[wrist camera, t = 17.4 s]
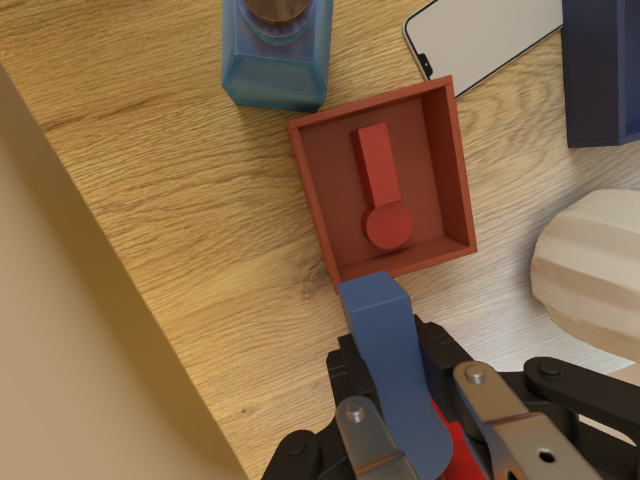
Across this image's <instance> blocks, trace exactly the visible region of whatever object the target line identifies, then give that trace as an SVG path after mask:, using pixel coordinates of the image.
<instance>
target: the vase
mask: <svg viewBox="0 0 640 480" xmlns="http://www.w3.org/2000/svg"><path fill="white" fill-rule="evenodd" d="M530 264H531V267H530V271H531V283H532V293H533V295H534V297H535V298H537V299H538V300H539V301H541V302H542V303H543V304H544V305H545V307H546V309H547V311H548V313H549V315H550V318H551V320H552V321H553V322H554V323H555V324H556V325H557V326H558V327H560V328H561V329H562V330H563V331H565V332H567V333H568V334H570V335H572V336H573V337H575V338H577V339H579V340H581V341H583V342H585V343H587V344H590V345H592V346H594V347H596V348H599V349H601V350H604V351H606V352H609V353H612V354H614V355H617V356H619V357H622V358H625V359H628V360H632V361H635V362H638V363H640V188H637V189H630V190H624V189H611V188H609V189H598V190H594V191H593V192H591V193H589V194H588V195H586V196H584V197H583V198H581V199H580V200H578V201H576V202H575V203H573V204H572V205H570V206H569V207H567V208H566V209H565V210H563V211H562V212H560V213H558V214H557V215H556V216H555V217H554V219H553V220H552V221H551V222H550V223H549V224H548V225H547V226H546V227H545V228H544V230H543V231H542V232H541V233H540V235H539V237H538V239H537V242H536V246H535V251H534V255H533V257H532V260H531V263H530Z"/></svg>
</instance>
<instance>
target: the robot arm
mask: <svg viewBox="0 0 640 480" xmlns="http://www.w3.org/2000/svg"><path fill="white" fill-rule="evenodd" d="M413 316H414V321H415V326H416V331H417V335H418V340H419V342H418V343H419V348H420V353H421V358H422V363H423V368H424V373H425V377H426V382H427V387H428V392H429V394H430V395H431V397H432V398H433V400H434V401H435V403H436V405H437V406H438V408H439V409H440V411H441V412H442V414H443V416H444V417H445V419H446V420H447V422H448V423H449V424H450V423H453V422H456V421H458V422H459V424H460V425H461V427H462V431H463V436H464V440H465V442H466V444H467V446H468V448H469V449H470V451H471V453H472V455H473V457H474V459H475V461H476V463H477V465H478V466H479V468H480V470H481V472H482V474H483V476H484V478H485V480H640V387H639V386H636V385H633V384H630V383H627V382H624V381H621V380H618V379H615V378H612V377H609V376H606V375H603V374H600V373H597V372H594V371H591V370H589V369H586V368H583V367H580V366H577V365H574V364H571V363H568V362H565V361H562V360H559V359H556V358H551V357H534V358H531V359H529V360H527V361H526V362H525V364H524V366H523V367H524V371H521V372H497V371H496V370H495V369H494V368H493V367H491V366H490V365H488V364H486V363H484V362H480V361H475V360H474V359H473V358H472V357H471V356H470V355H469V354H468V353H467V352H466V351H465V350H464V349H463V348H462V347H461V346H460V345H459V344H458V343H457V342H456V341H454V339H453V338H452V337H451V336H450V335H449V334H448V332H447V331H446V330H445V329H444V328H443V327H442V326H440V325H437V324H435V323H433V322H429V323H425V324H424V323H423V322H422V320H421V319H420V318H419V317H418V316H417V315H416V314H414V315H413ZM337 338H338V342H339V346H340V349H338V350H335V351H332V352H329V354H328V357H327V360H326V364H327V368H328V373H329V377H330V382H331V386H332V391H333V395H334V400H335V404H336V412H335V416H334V418H333V420H332V421H331V423H330V424H329V425H328V426H327V427H326V428H324V429H323V430H322V431H320V432H318V433H317V434H314V433H313V432H311V431H309V430H297V431H294V432H292V433H290V434H288V435H287V436H286V437H285V438H284V439H283V440H282V441H281V442H280V444H279V445H278V447H277V449H276V451H275V453H274V455H273V457H272V459H271V461H270V463H269V465H268V467H267V469H266V471H265V473H264V475H263V477H262V479H261V480H420V479H419V477H418V475H417V474H416V472H415V470H414V468H413V466H412V464H411V463H410V461H409V459H408V457H407V455H406V454H405V452H404V451H403V450H400V451H399V449H398V448H397V446H396V444H395V442H394V440H393V438H392V436H391V434H390V433H389V431H388V429H387V427H386V425H385V421H384V417H383V413H382V409H381V405H380V401H379V397H378V393H377V389H376V386H375V384H374V382H373V379H372V377H371V374H370V372H369V370H368V367H367V365H366V362H365V360H364V359H361V357H360V355H359V352H358V350H357V347H356V345H355V342H354V340H353V337H352V335H351V333H350V334H347V335H343V336H340V337H337ZM579 414H581V415H583V416H585V417H587V418H590V419H592V420H594V421H597V422H599V423H601V424H603V425H606V426H608V427H610V428H613V429H615V430H617V431H619V432H621V433H623V434H625V435H626V436H628V437H629V438H630V439H631V440H632V441H633V442H634V443H635V444H636V446H637V447H636V446H633V445H631V444H629V443H627V442H625V441H622V440H620V439H618V438H616V437H614V436H611V435H609V434H607V433H605V432H603V431H600V430H598V429H596V428H594V427H592V426H589V425H587V424H585V423H583V422H581V421H579Z"/></svg>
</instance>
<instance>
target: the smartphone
mask: <svg viewBox="0 0 640 480" xmlns="http://www.w3.org/2000/svg"><path fill="white" fill-rule="evenodd" d="M562 27H563V14H562V0H432V1H430V2H429V3H427V4H426V5H425V6H423V7H422V8H420V9H419V10H417V11H416V12H414V13H413V14H412V15H410V16H409V17H408V18H407V19H406V20H405V21H404V23H403V26H402V34H403V37H404V39H405V41H406V43H407V45H408V47H409V49H410V51H411V53H412V55H413V57H414V60H415V62H416V64H417V66H418V68H419V70H420V72H421V74H422V76H423V78H424V80H425V82H426V81H429V80H433V79H437V78H440V77H444V76H447V75H452V79H453V83H452V84H453V86H454V93H455V100H456V99H458V98H459V97H461V96H462V95H464V94H466V93H467V92H468V91H470V90H471V89H473V88H474V87H476V86H477V85H479V84H480V83H482V82H483V81H485V80H486V79H488V78H489V77H491V76H492V75H494V74H495V73H496V72H498V71H499V70H501V69H502V68H503V67H505V66H506V65H508V64H509V63H511V62H512V61H514V60H515V59H517V58H518V57H520V56H521V55H523V54H524V53H526V52H527V51H529V50H530V49H531V48H533V47H534V46H536V45H537V44H539V43H540V42H542V41H543V40H545V39H546V38H548V37H549V36H551V35H552V34H554V33H555V32H557V31H558V30H559V29H561V28H562Z"/></svg>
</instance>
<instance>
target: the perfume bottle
mask: <svg viewBox="0 0 640 480" xmlns="http://www.w3.org/2000/svg"><path fill="white" fill-rule="evenodd" d="M333 1H334V0H222V87H223V89H224V90H225V91H226V92H227V94H228V95H229V96H230V97H231V99H232V100H233V101H234V103H235V104H236V105H242V106H252V107H262V108H271V109H281V110H291V111H301V112H310V113H316V112H317V110H318V109H319V107H320V106H321V104H322V103H323V101H324V100H325V99H326V92H327V79H328V66H329V53H330V40H331V27H332V14H333Z"/></svg>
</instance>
